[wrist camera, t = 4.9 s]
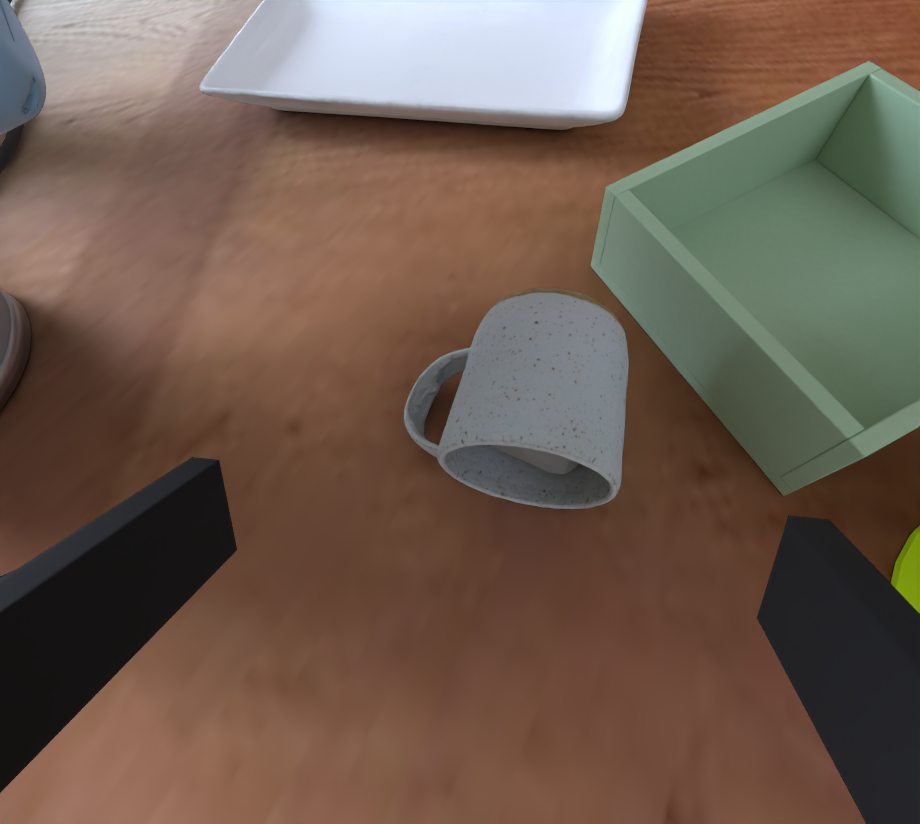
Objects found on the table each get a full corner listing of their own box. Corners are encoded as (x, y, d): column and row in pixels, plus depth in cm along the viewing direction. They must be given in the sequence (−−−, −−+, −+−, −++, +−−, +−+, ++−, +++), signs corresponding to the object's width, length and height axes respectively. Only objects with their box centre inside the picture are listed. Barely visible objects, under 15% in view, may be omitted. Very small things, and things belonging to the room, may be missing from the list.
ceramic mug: (617, 370, 25) (650, 274, 19) (604, 520, 22) (637, 472, 15) (430, 349, 28) (397, 257, 21) (394, 483, 25) (340, 427, 18)
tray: (299, 11, 44) (282, -35, 41) (645, 19, 38) (656, -36, 35) (217, 132, 38) (190, 88, 35) (613, 167, 32) (623, 117, 28)
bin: (590, 266, 29) (605, 186, 23) (808, 158, 30) (869, 60, 25) (783, 496, 22) (865, 457, 17) (1052, 344, 23) (1206, 263, 18)
